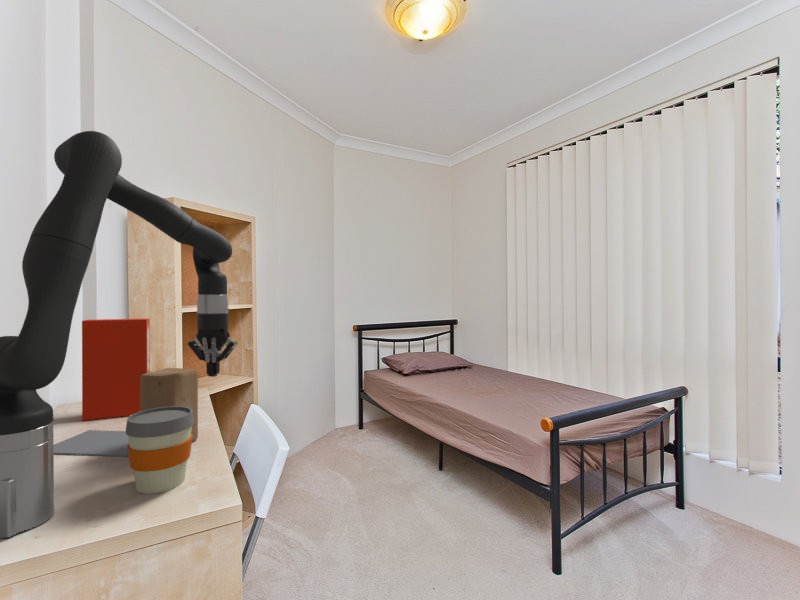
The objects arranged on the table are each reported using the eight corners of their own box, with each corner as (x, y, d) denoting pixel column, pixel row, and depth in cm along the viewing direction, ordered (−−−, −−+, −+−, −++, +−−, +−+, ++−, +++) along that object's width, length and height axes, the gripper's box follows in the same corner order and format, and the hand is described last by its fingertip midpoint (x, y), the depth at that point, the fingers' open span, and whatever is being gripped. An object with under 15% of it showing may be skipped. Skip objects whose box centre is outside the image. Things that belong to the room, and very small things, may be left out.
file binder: (89, 414, 131) (88, 319, 130) (149, 408, 138) (149, 318, 138) (82, 421, 123) (81, 320, 123) (146, 414, 131) (146, 319, 131)
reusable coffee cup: (186, 465, 93) (186, 402, 93) (200, 484, 84) (200, 415, 83) (122, 481, 85) (121, 413, 84) (130, 505, 75) (129, 428, 75)
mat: (126, 456, 98) (126, 454, 97) (35, 453, 99) (35, 452, 99) (167, 433, 113) (167, 432, 113) (89, 431, 115) (89, 430, 115)
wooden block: (171, 454, 99) (171, 375, 99) (138, 450, 101) (138, 374, 101) (199, 439, 109) (199, 368, 109) (168, 436, 111) (168, 366, 111)
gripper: (180, 312, 100) (180, 378, 101) (230, 312, 100) (230, 379, 100) (196, 310, 108) (197, 372, 108) (243, 311, 107) (243, 373, 108)
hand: (213, 375), depth 104 cm, fingers closed
